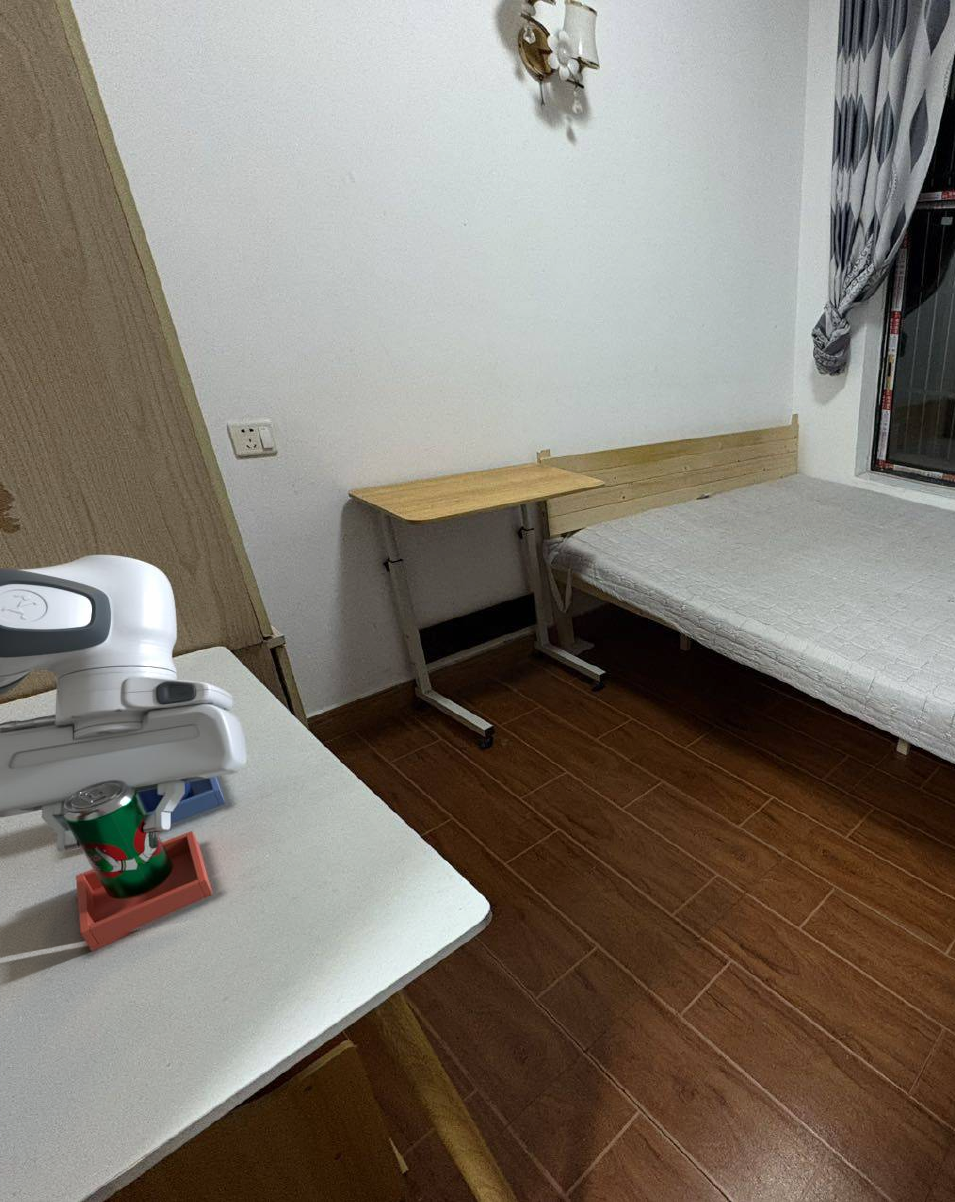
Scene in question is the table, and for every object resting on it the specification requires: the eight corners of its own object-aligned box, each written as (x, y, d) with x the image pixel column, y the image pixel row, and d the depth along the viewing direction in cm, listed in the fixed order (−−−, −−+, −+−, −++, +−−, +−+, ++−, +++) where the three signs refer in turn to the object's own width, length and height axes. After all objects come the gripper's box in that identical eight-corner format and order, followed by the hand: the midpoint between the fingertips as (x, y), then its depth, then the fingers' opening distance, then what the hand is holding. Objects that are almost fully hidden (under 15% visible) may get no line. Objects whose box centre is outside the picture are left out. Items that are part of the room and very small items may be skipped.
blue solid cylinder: (138, 817, 78) (115, 771, 74) (157, 792, 81) (136, 747, 78) (184, 810, 79) (163, 765, 76) (200, 786, 83) (181, 742, 80)
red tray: (91, 951, 63) (80, 933, 62) (86, 893, 69) (75, 875, 68) (214, 897, 69) (205, 879, 68) (200, 847, 75) (192, 830, 74)
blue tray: (123, 845, 74) (114, 827, 73) (117, 802, 80) (108, 785, 79) (226, 806, 81) (219, 789, 79) (214, 769, 86) (207, 752, 85)
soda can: (163, 855, 71) (120, 770, 66) (183, 876, 69) (140, 790, 64) (100, 887, 67) (49, 799, 62) (119, 911, 65) (68, 821, 60)
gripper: (-47, 720, 61) (-60, 872, 58) (226, 681, 70) (229, 812, 66) (2, 731, 67) (-8, 870, 63) (250, 693, 75) (254, 815, 72)
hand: (116, 840), depth 65 cm, fingers closed on soda can, 5 cm apart
